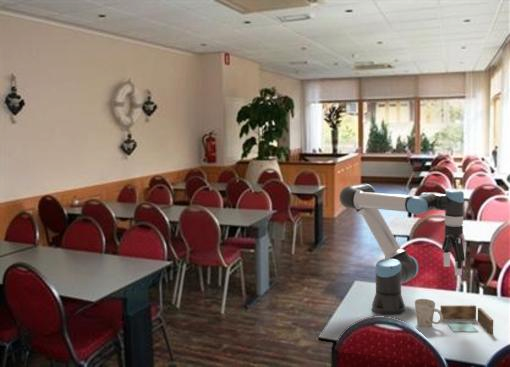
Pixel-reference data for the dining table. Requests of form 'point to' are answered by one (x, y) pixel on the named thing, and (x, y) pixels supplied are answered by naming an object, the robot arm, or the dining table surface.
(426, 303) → the mug
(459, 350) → the dining table surface
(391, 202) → the robot arm
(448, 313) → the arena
